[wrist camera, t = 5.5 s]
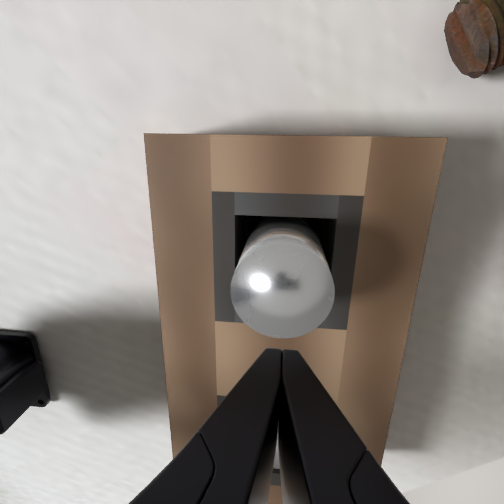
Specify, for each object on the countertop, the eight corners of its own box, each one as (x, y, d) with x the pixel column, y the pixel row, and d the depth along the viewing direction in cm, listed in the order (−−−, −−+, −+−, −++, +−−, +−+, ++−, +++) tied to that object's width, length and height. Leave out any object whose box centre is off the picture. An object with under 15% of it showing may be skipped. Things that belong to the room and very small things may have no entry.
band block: (197, 432, 25) (176, 499, 20) (181, 135, 18) (143, 133, 13) (353, 448, 24) (369, 523, 19) (402, 138, 17) (447, 137, 12)
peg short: (245, 283, 17) (230, 334, 12) (246, 213, 16) (230, 242, 11) (317, 287, 17) (329, 341, 12) (324, 216, 15) (340, 246, 11)
